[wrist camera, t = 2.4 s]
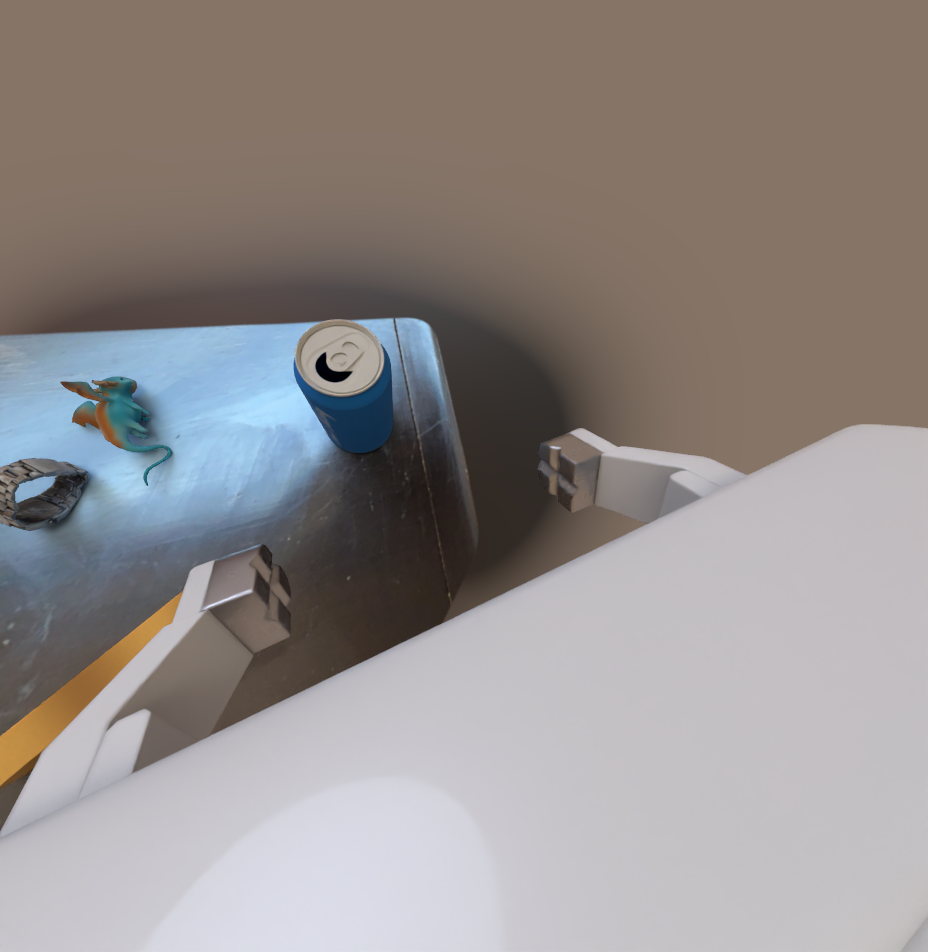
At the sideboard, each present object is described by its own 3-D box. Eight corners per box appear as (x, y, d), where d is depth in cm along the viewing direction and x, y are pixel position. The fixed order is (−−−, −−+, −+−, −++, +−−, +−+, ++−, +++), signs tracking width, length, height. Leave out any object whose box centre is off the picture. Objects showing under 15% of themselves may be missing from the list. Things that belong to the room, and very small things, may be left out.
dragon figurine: (216, 412, 30) (114, 347, 27) (148, 472, 25) (16, 403, 22) (205, 441, 34) (117, 389, 31) (147, 497, 30) (36, 443, 26)
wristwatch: (64, 490, 28) (-19, 522, 24) (67, 444, 26) (-24, 470, 22) (99, 509, 29) (24, 544, 24) (104, 465, 27) (23, 495, 22)
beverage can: (312, 429, 32) (264, 360, 21) (355, 383, 34) (333, 296, 23) (366, 468, 32) (348, 421, 21) (406, 420, 34) (410, 352, 23)
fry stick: (203, 586, 28) (184, 589, 25) (223, 608, 27) (206, 613, 25) (4, 746, 23) (-41, 768, 21) (27, 773, 23) (-16, 798, 21)
